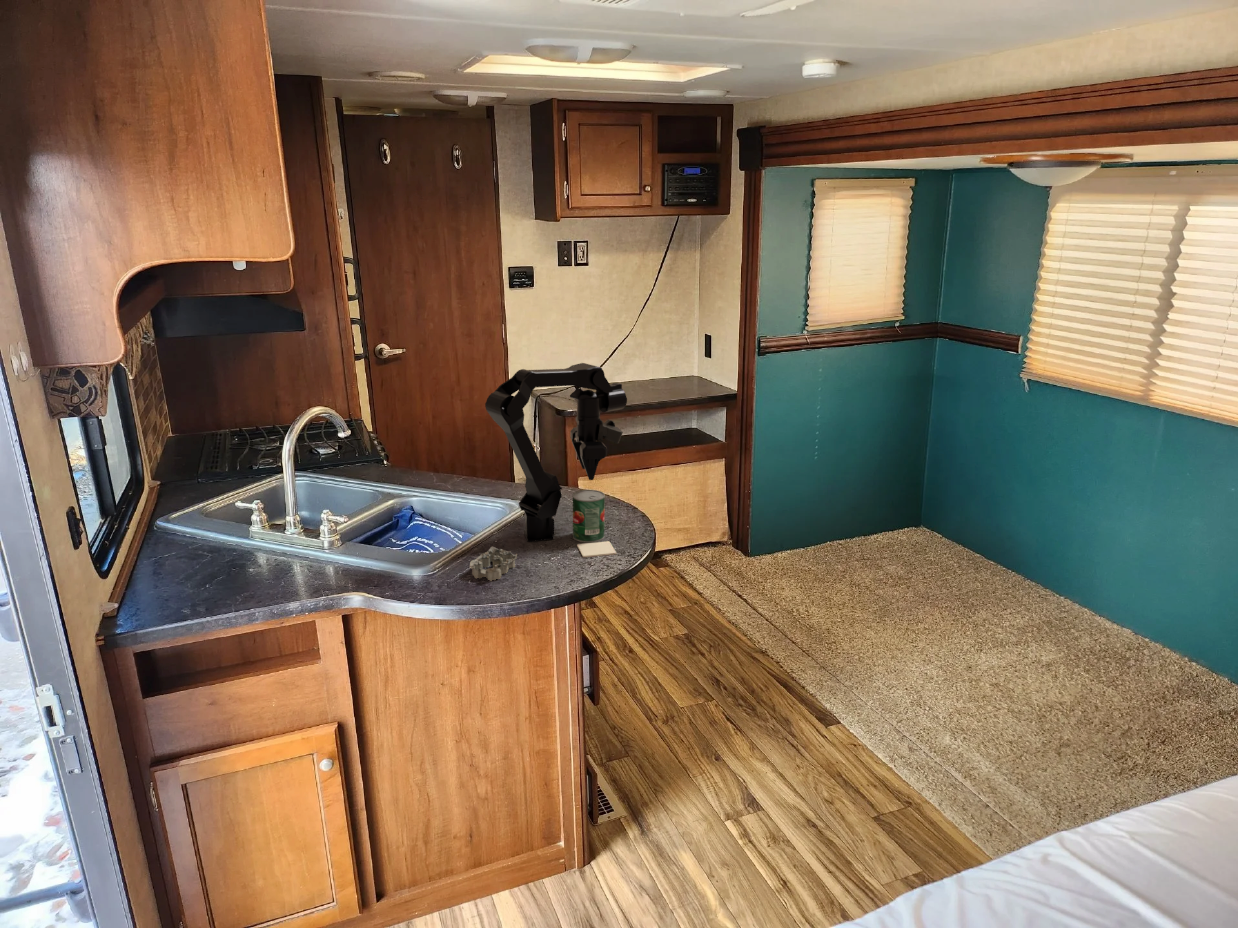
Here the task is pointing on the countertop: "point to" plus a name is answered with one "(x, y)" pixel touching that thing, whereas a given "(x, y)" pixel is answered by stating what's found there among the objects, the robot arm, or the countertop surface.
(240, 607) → the countertop surface
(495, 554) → the egg carton
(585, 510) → the canned tomato
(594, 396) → the robot arm
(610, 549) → the mat
